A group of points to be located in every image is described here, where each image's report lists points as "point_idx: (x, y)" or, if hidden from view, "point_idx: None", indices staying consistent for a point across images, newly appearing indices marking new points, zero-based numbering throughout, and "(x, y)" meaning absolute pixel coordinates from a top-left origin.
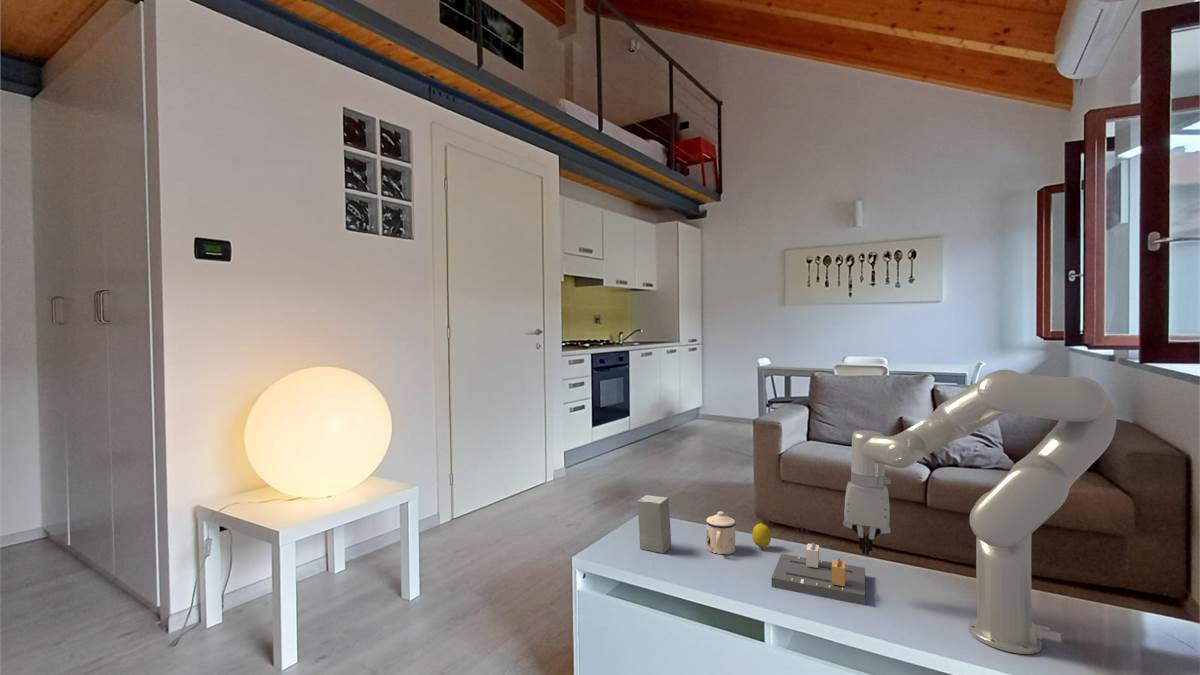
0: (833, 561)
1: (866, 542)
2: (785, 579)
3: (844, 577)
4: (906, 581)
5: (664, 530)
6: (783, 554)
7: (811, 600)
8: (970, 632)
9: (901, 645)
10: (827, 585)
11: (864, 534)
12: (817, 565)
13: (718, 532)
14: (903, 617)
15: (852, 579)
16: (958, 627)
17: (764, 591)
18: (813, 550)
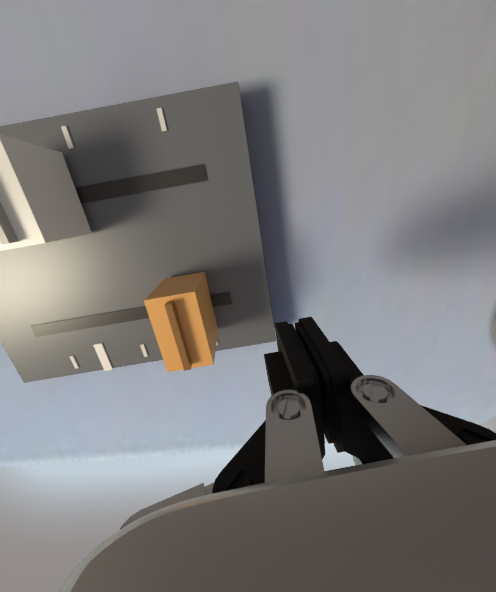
0: (154, 322)
1: (324, 430)
2: (60, 371)
3: (215, 345)
4: (382, 40)
5: None
6: None
7: (157, 375)
8: (493, 332)
9: None
10: None
11: (322, 442)
12: (85, 234)
13: None
14: (359, 336)
15: (222, 250)
16: (473, 313)
17: (47, 396)
18: (24, 243)
